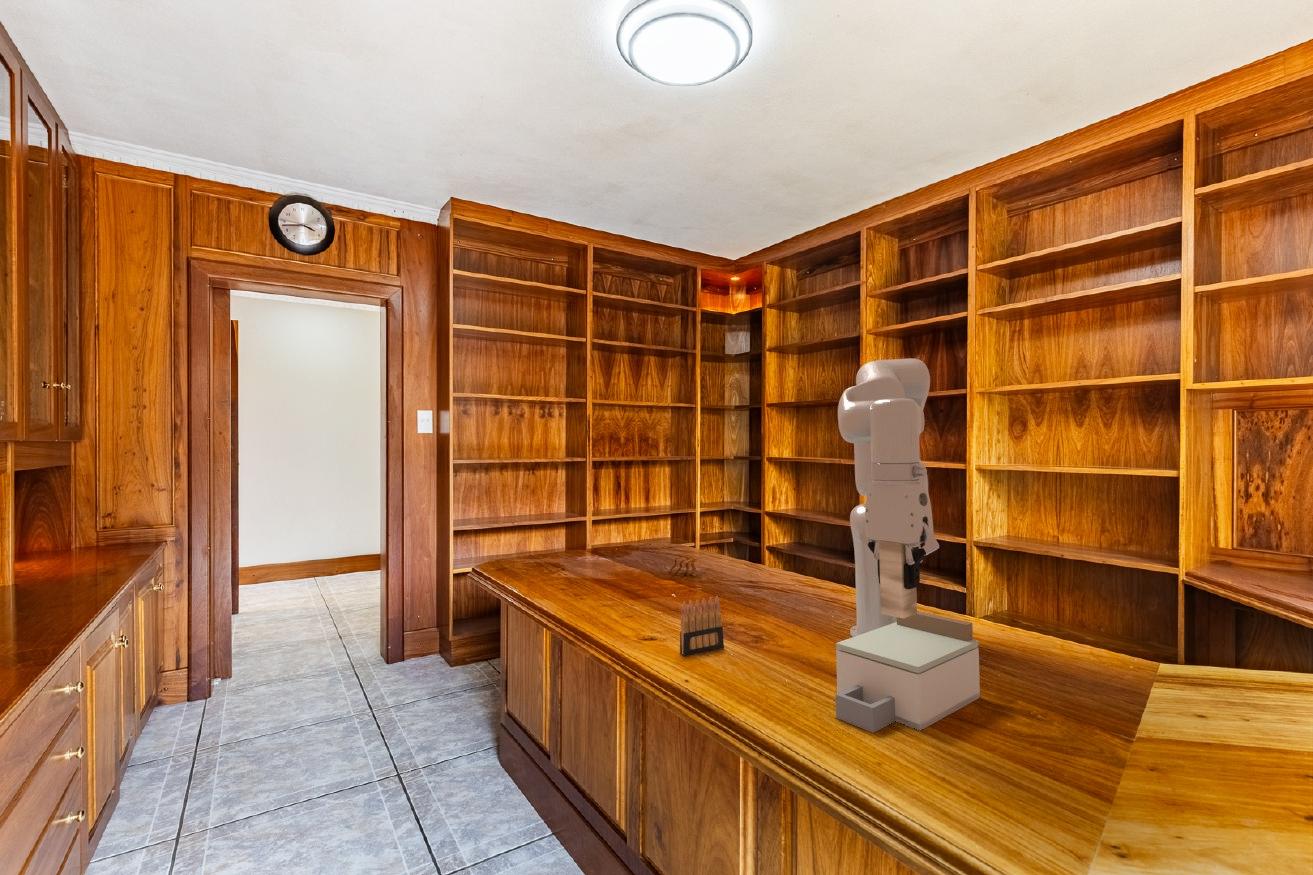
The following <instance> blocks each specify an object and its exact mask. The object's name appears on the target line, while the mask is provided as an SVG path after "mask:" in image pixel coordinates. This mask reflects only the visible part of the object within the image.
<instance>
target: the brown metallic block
mask: <svg viewBox="0 0 1313 875" xmlns="http://www.w3.org/2000/svg"><path fill="white" fill-rule="evenodd" d="M879 558H880V593H881V613H882V614H886V615H890V616H894V617H898V618H906V617H909V616H912V615H915V614H917V611H918V601H917V600H918V598H917V597H918V595H917V587H916V588H913V589H905V588H904V564H907V561H906V556H905V551H904V545H903V544H902V543H895V542H887V541H879Z"/></svg>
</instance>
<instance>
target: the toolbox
mask: <svg viewBox="0 0 1313 875" xmlns="http://www.w3.org/2000/svg"><path fill="white" fill-rule="evenodd" d="M979 653H980V650H979V646H978V647H975V648H973V649H971V650H969V651H967V652H964V653H962V654H960V655H958V656H956V657H953V658H951V659H949V660H947V661H945V662H942V663H940V664H938V665H936V666H934V667H931V668H929V669H927V670H925V671H922V672H920V673H916V672H912V671H909V670H906V669H902V668H899V667H896V666H892V665H889V664H886V663H882V662H879V661H876V660H872V659H869V658H866V657H862V656H859V655H856V654H852V653H849V652H846V651H842V650H839V649H835V657H836V659H835V660H836V661H835V662H836V689H837V690H836V692H837V693H835V694H834V696H835V697H834V698H835V718H836V719H838V720H840V721H842V722H844V723H848V724H850V725H853V726H855V727H858V728H860V729H861V730H862V729H863V730H865V731H868V732H869V733H872V734H874V733H877V732H878V731H880V730H882V729H884V728H885V727H888V726H889V724H890V725H892V724H893V723H899V724H900V723H901V725H903V724H905V725H904V726H906V727H909V728H911V729H914V728H915V729H914V730H916V729H917V731H923V730H924V729H926V728H929V726H931V725H934V724H935V723H937V722H939V721H940V720H942V719H943V718H945V717H948V716H949V715H951V714H953V713H955V712H957V711H959V710H960V709H962V708H965V706H968V705H969V704H971V703H973V702H975V701H976V700H978V699H980V698H981V691H980V690H981V688H980V654H979ZM895 721H896V722H895ZM891 723H892V724H891ZM922 729H923V730H922Z"/></svg>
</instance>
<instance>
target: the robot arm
mask: <svg viewBox="0 0 1313 875" xmlns="http://www.w3.org/2000/svg"><path fill="white" fill-rule="evenodd" d="M855 384H856V385H854V386H850V387H848V388H846V389H845V390H844V391H843V392H842V395H841V397H840V399H839V402H838V406H837V420H838V421H837V422H838V429H839V433H840V436H841V437H842V438H843V440H844V441H845V442H847V443H850V444H853V446H854V447H853V448H854V451H853V452H854V476H855V486H856V491H857V492H858V494H859V495H861V496H863V497H865V503H861V504H858V505H856V506H855V507H854V508H853V509H852V510H851V511H850V515H849V522H850V523H849V524H850V530H851V535H852V536H851V537H852V542H853V548H854V549H853V550H854V566H855V567H854V570H855V605H856V606H855V608H856V625H854V626H851V628H850V629H849V630H850V631H849V632H850V634H849V635H850V636H851V638H852V637H855V636H858V635H861V634H864V633H866V632H869V631H872V630H875V629H878V628H881V627H884V626H887V625H889V624H892V623H895V622H897V617H894V616H890V615H886V614H882V613H881V593H880V558H879V541H887V542H895V543H902V544H903V545H904V551H905V556H906V561H907V564H904V588H905V589H913V588H916V589H917V588H919V586H920V581H921V570H920V563H922V562H923V561H924V560H925V558H927V557H928V555H929V554H932V553H934V552H935V551H937V550H938V549H940V543H939V542H938V541H937V538H935V535H934V522H933V521H934V520H933V512H932V504H931V499H930V494H929V479H928V474H927V473H928V469H927V468H926V465H925V463H924V462H923V461H922V460H921V459H920V458H921V456H920V453H921V452H920V450H921V449H920V436H921V434H922V433H923V432H924V429H925V424H926V423H925V414H924V408H925V404H926V401H927V400H928V399H927V398H928V395H929V392H930V386H931V376H930V371H929V369H928V367H927V365H926V363H925V362H924V361H922V360H921V359H918V358H895V359H878V360H872V361H869V362H866V363H865V364H863V365H862V366H861V367H860V368H859V369H858V371H857V374H856V377H855ZM921 544H924V545H923V546H922V547H921Z"/></svg>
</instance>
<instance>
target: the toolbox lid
mask: <svg viewBox="0 0 1313 875" xmlns="http://www.w3.org/2000/svg"><path fill="white" fill-rule="evenodd" d="M973 635H974V632H973V622H971V621H966V620H961V619H956V618H952V617H948V616H943V615H938V614H933V613H929V612H924V611H919V610H917V614H915V615H912V616H909V617H906V618H898V617H897V622H895V623H892V624H889V625H887V626H884V627H881V628H878V629H875V630H872V631H869V632H866V633H864V634H861V635H858V636H855V637H852V636H851V637H850V638H847V639H843V640H841V641H839V642H836V643H835V650H838V649H839V650H842V651H846V652H849V653H852V654H856V655H859V656H862V657H866V658H869V659H872V660H876V661H879V662H882V663H886V664H889V665H892V666H896V667H899V668H902V669H906V670H909V671H912V672H916V673H920V672H922V671H925V670H927V669H929V668H931V667H934V666H936V665H938V664H940V663H942V662H945V661H947V660H949V659H951V658H953V657H956V656H958V655H960V654H962V653H964V652H967V651H969V650H971V649H973V648H975V647H978V648H979V640H978V639H974V636H973Z"/></svg>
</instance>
